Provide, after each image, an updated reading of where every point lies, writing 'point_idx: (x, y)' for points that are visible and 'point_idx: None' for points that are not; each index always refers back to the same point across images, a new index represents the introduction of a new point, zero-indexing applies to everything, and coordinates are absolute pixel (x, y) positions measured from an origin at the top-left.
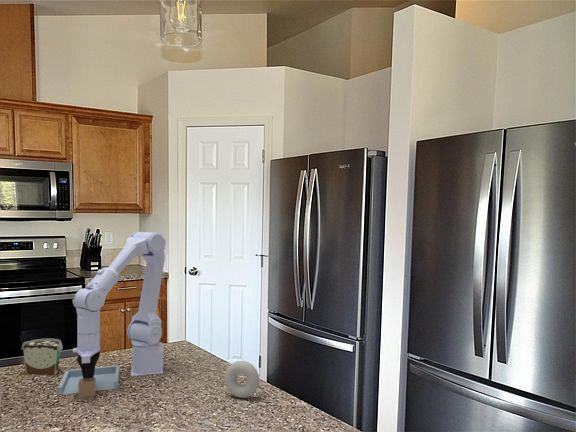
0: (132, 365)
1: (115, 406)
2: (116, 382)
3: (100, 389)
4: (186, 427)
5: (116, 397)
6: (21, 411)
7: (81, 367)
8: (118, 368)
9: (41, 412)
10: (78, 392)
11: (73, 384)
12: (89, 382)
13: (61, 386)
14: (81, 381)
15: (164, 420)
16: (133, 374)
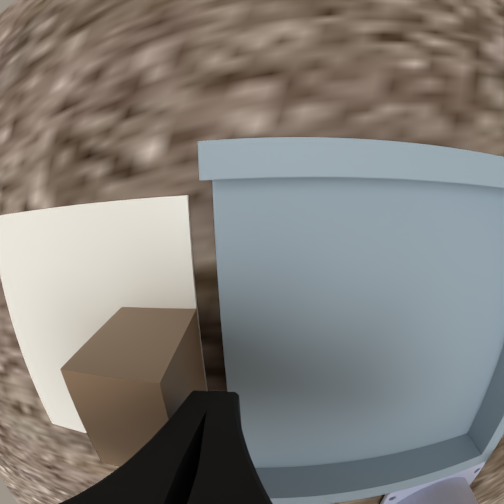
0: (448, 499)
1: (61, 439)
2: None
3: (244, 420)
4: (10, 492)
5: None
6: (54, 19)
7: (90, 494)
8: (447, 474)
9: (10, 128)
10: (100, 328)
11: (413, 237)
12: (92, 433)
13: (219, 168)
14: (86, 393)
15: (20, 484)
16: (398, 495)
